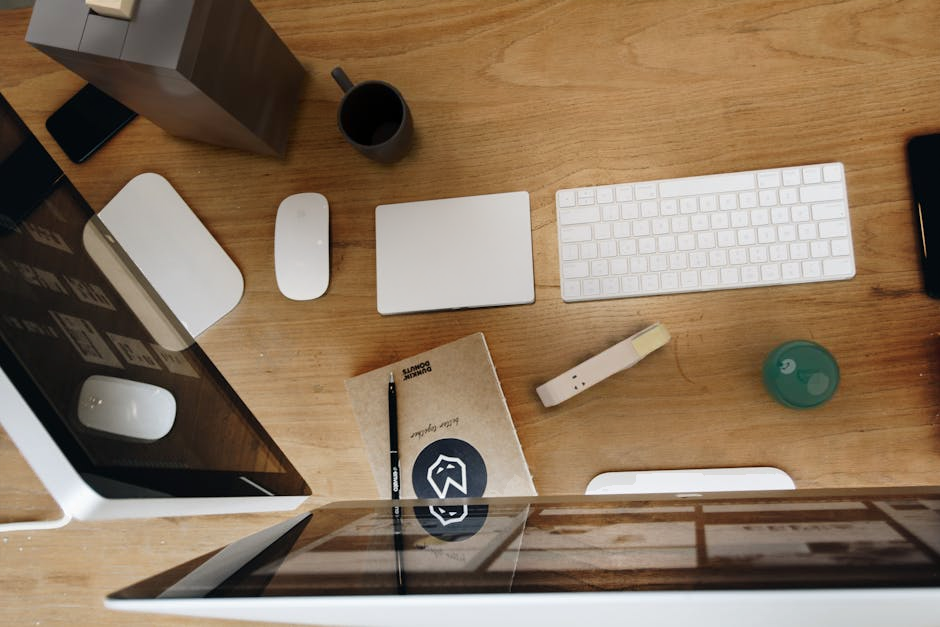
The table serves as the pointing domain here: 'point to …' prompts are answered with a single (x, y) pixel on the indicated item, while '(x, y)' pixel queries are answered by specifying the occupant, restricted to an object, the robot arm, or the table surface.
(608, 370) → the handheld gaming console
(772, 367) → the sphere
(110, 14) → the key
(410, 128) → the mug
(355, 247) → the table surface
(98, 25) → the piano
